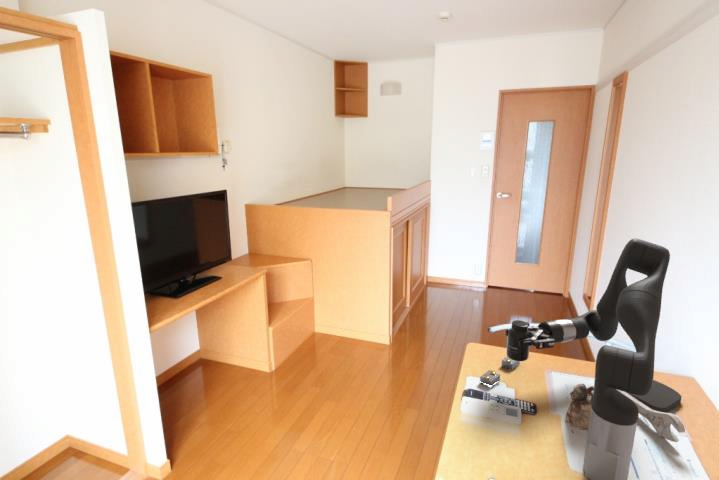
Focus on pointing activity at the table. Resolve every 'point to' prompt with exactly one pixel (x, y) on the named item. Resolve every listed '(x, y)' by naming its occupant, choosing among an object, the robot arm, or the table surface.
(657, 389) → the media streaming box
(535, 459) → the table surface
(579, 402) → the figurine
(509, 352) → the supplement bottle
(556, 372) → the table surface
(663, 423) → the wrench
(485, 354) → the table surface
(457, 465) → the table surface
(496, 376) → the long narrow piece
